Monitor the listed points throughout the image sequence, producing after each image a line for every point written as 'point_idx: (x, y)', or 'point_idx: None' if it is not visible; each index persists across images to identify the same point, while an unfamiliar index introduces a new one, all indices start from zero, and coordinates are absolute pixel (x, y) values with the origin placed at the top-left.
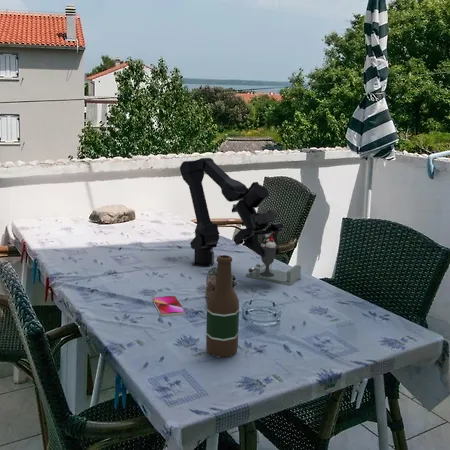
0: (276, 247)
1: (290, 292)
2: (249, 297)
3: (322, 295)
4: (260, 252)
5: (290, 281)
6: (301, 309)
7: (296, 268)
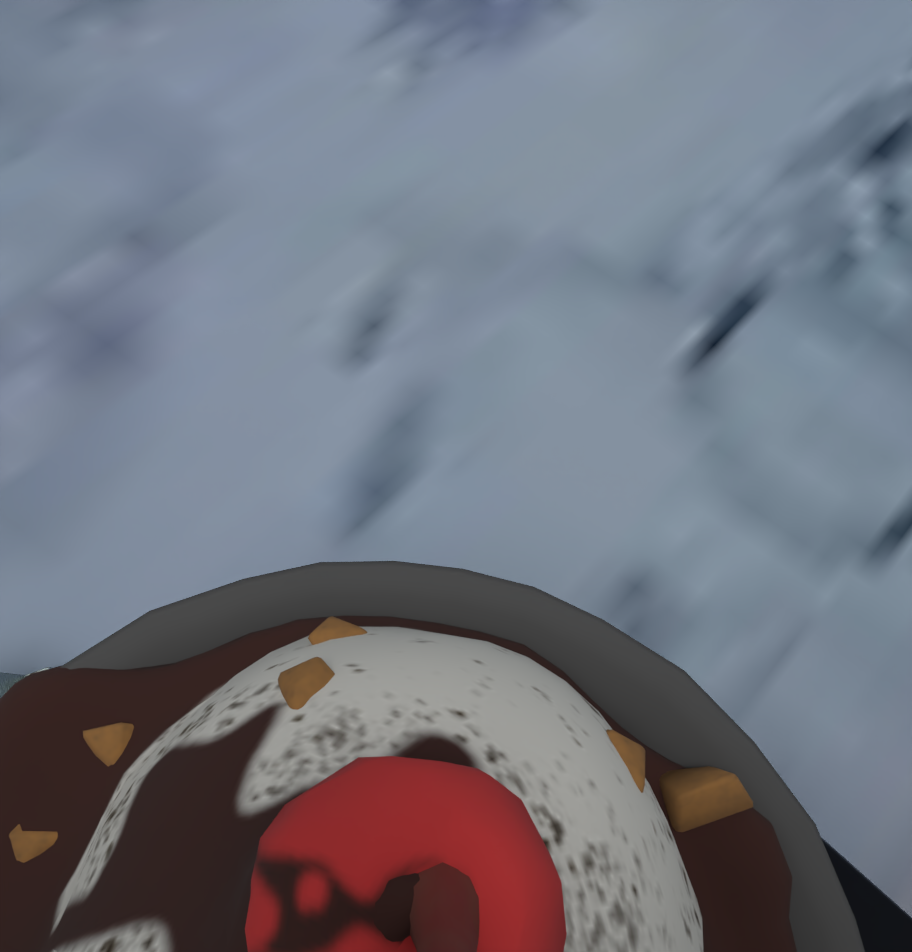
0: (286, 601)
1: (289, 467)
2: (841, 640)
3: (72, 188)
4: None
5: (17, 676)
6: (584, 86)
7: None
